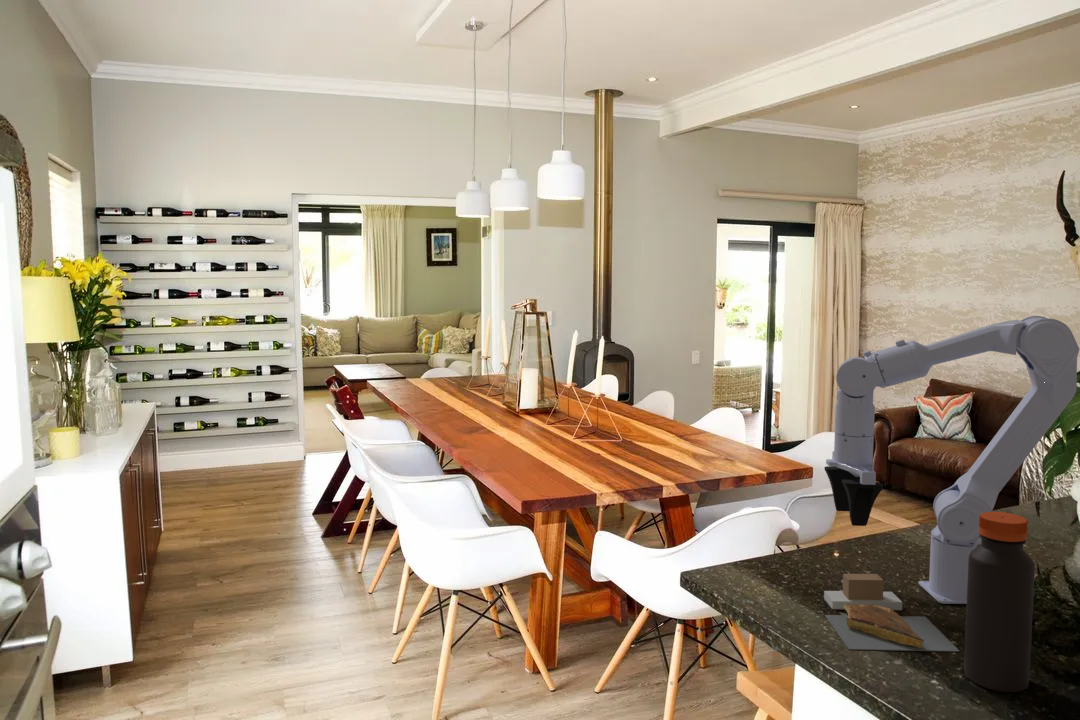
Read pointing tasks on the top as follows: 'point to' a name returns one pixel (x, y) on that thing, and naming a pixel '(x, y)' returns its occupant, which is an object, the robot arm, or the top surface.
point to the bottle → (999, 605)
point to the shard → (881, 624)
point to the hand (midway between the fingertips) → (850, 517)
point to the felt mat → (872, 642)
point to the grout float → (862, 593)
